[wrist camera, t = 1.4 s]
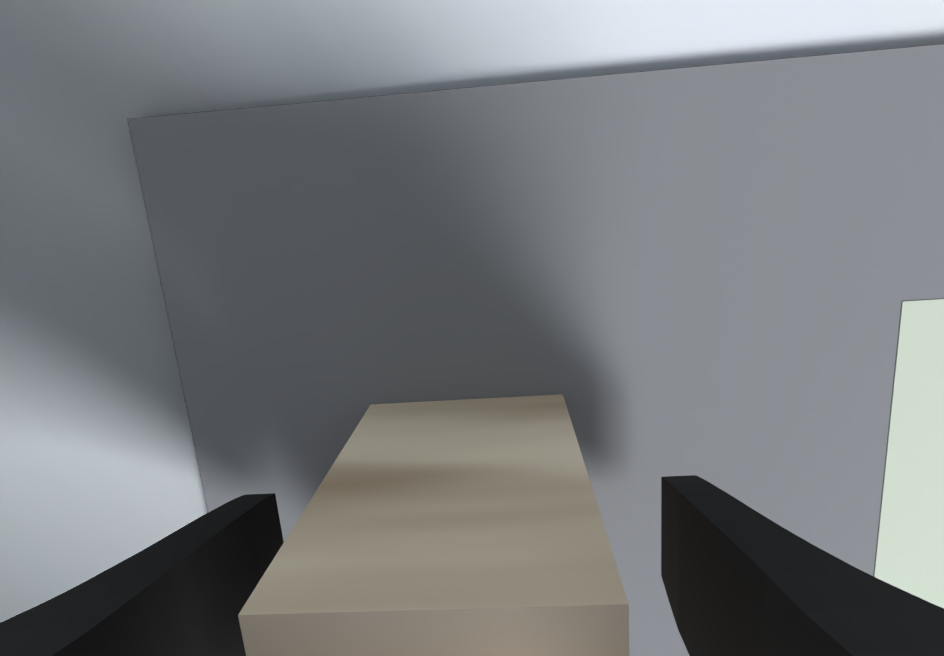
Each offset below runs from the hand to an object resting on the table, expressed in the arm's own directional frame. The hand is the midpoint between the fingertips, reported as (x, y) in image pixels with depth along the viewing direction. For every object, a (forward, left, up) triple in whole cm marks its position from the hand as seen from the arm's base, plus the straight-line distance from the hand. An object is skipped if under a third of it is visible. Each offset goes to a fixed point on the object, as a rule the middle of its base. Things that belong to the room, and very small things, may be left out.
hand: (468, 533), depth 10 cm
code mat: (0, -6, -2) cm, 6 cm away
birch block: (0, 0, -2) cm, 2 cm away
